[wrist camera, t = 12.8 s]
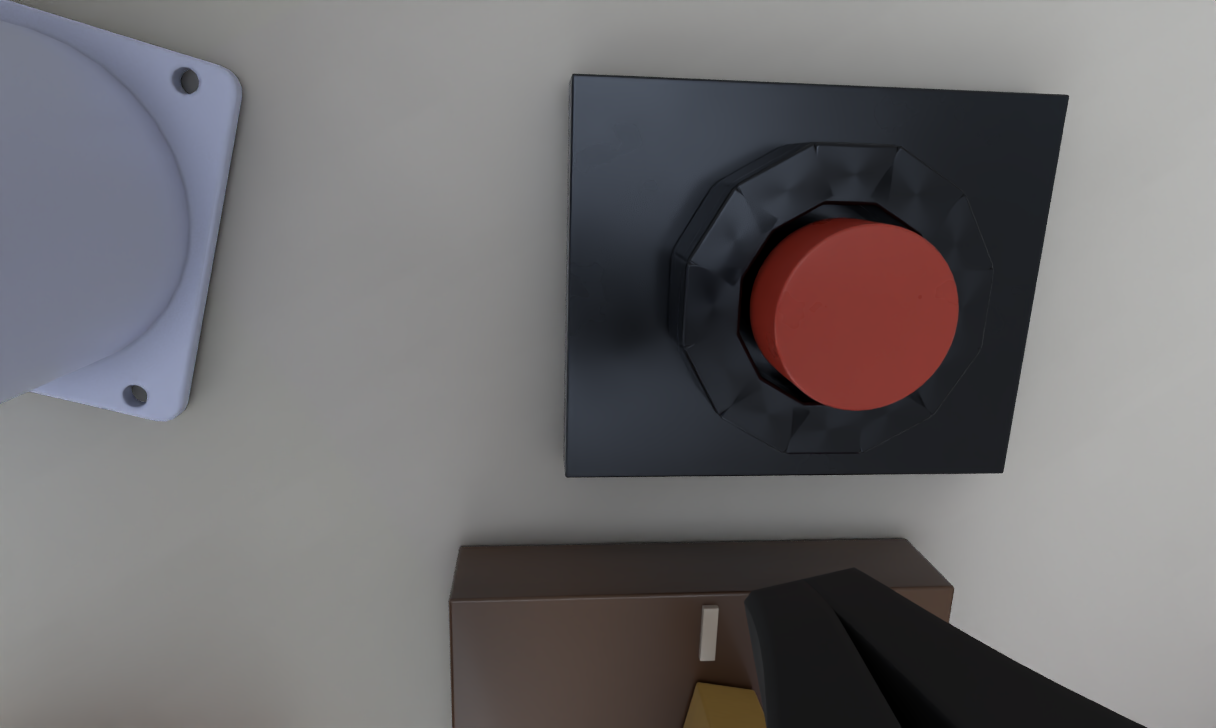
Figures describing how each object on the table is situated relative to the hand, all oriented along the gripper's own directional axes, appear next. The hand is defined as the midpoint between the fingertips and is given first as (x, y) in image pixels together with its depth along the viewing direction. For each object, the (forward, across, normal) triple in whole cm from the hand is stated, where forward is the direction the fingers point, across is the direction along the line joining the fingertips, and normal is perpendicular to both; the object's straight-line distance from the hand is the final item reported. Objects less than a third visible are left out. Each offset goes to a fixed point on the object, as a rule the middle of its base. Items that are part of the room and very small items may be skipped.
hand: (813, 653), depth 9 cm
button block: (+10, -3, -2) cm, 11 cm away
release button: (+8, -3, -2) cm, 9 cm away
